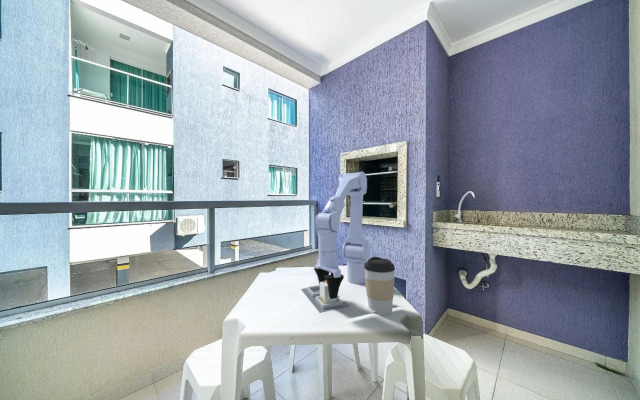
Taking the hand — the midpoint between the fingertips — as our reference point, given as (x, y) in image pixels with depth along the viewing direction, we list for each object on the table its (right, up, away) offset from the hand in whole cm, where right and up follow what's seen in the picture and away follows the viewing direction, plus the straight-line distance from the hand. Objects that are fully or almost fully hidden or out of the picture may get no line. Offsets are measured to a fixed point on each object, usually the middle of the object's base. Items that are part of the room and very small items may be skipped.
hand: (328, 293), depth 70 cm
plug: (0, -3, 0) cm, 3 cm away
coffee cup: (+15, -4, -4) cm, 16 cm away
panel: (-2, -4, +4) cm, 6 cm away
